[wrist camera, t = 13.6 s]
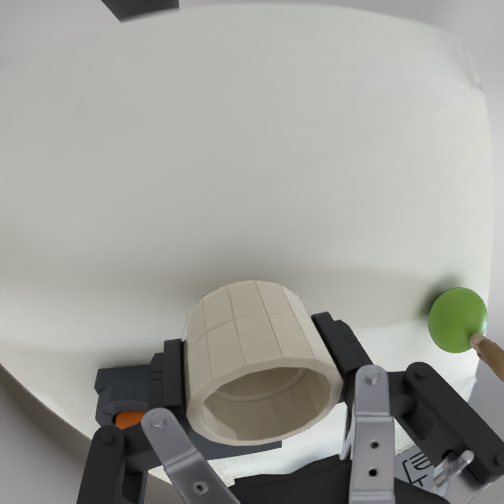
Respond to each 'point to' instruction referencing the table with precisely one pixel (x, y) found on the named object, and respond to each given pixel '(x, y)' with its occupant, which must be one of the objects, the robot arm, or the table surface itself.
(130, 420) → the button
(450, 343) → the snail figurine
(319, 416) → the beige cup
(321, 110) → the table surface
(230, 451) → the scale
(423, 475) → the icon cube
